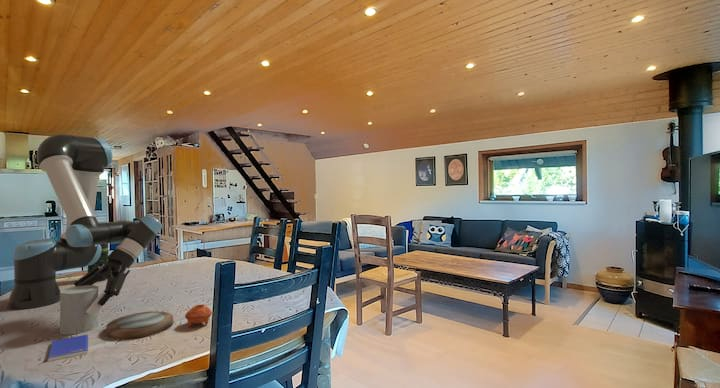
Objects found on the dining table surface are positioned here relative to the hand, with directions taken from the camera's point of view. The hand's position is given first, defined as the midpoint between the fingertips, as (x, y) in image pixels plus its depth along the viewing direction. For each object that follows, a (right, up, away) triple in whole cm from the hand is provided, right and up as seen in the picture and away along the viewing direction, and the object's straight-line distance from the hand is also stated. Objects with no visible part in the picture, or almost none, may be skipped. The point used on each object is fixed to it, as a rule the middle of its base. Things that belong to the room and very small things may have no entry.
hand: (76, 311), depth 112 cm
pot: (+35, -7, +6) cm, 36 cm away
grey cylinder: (0, -6, +1) cm, 6 cm away
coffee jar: (-37, -5, +60) cm, 71 cm away
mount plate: (+18, -6, +3) cm, 19 cm away
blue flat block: (+8, -7, -13) cm, 17 cm away
